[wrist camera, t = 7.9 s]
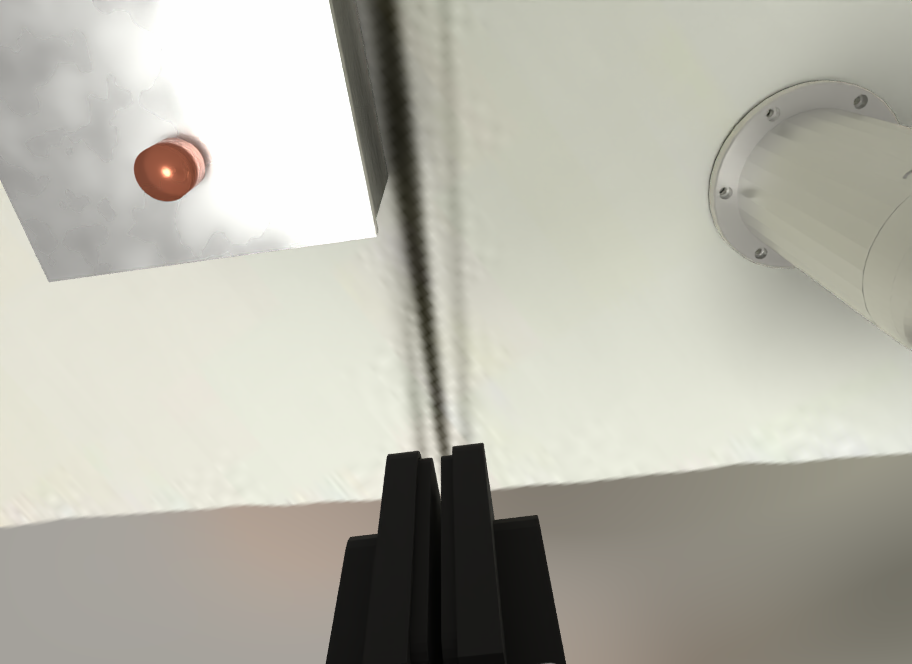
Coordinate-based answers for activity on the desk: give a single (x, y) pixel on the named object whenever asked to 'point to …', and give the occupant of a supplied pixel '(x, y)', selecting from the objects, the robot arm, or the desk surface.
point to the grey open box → (362, 96)
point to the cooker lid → (177, 131)
